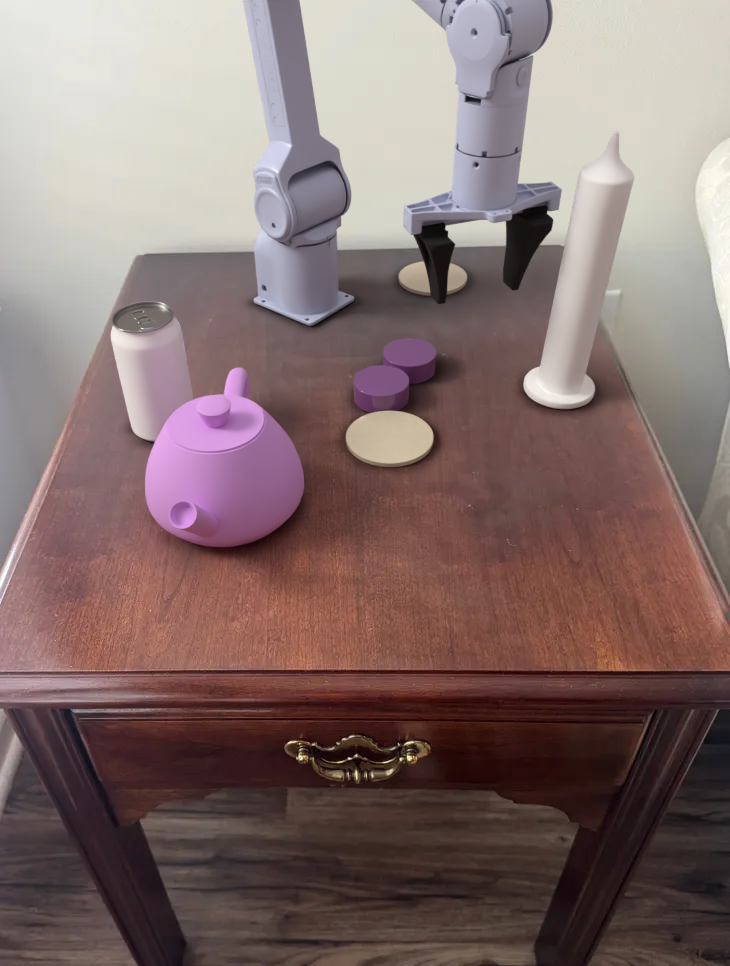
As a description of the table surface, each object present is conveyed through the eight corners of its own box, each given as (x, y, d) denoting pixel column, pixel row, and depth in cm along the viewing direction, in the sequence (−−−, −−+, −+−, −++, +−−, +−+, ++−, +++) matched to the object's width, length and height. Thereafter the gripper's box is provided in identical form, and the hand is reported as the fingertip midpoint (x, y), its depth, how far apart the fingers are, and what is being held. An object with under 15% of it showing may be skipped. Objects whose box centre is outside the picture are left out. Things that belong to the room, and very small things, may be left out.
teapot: (114, 584, 69) (83, 483, 62) (181, 436, 83) (163, 340, 76) (280, 599, 67) (269, 497, 60) (320, 446, 82) (316, 348, 74)
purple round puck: (371, 372, 91) (371, 354, 89) (403, 350, 94) (404, 332, 92) (414, 390, 88) (415, 372, 86) (445, 367, 91) (447, 349, 89)
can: (144, 452, 82) (118, 341, 74) (123, 418, 86) (97, 309, 78) (206, 431, 84) (189, 322, 76) (183, 399, 88) (164, 292, 80)
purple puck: (342, 400, 87) (342, 382, 85) (376, 377, 90) (377, 358, 88) (385, 421, 84) (386, 402, 83) (419, 395, 87) (420, 377, 86)
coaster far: (384, 282, 105) (384, 279, 105) (425, 258, 109) (425, 254, 109) (440, 303, 101) (440, 299, 101) (480, 276, 105) (480, 272, 105)
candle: (593, 414, 84) (663, 150, 66) (520, 404, 85) (570, 143, 68) (594, 375, 89) (659, 120, 71) (525, 366, 90) (573, 114, 73)
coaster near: (327, 444, 82) (327, 440, 81) (382, 404, 86) (382, 400, 86) (397, 479, 78) (397, 475, 77) (450, 435, 82) (451, 431, 82)
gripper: (427, 174, 69) (420, 325, 78) (588, 149, 72) (562, 298, 81) (396, 145, 74) (392, 291, 83) (548, 123, 76) (528, 266, 86)
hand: (474, 292), depth 82 cm, fingers open, 7 cm apart
